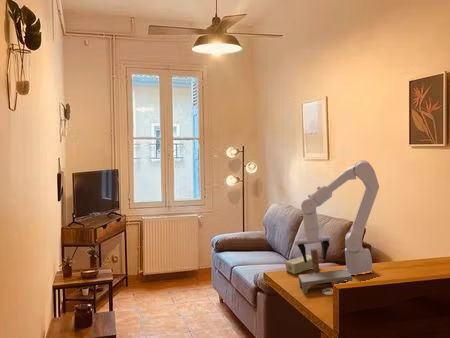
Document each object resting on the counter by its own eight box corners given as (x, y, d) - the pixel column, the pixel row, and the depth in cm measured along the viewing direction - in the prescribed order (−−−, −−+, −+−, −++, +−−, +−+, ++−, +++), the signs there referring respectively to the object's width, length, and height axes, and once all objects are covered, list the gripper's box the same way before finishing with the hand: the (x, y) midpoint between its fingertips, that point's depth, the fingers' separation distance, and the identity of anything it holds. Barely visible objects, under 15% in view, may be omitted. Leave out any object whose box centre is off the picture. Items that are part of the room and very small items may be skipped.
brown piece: (322, 271, 176) (320, 247, 175) (330, 281, 164) (328, 256, 163) (308, 273, 176) (305, 249, 175) (315, 283, 164) (312, 258, 163)
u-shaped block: (346, 279, 164) (345, 269, 163) (353, 287, 156) (352, 276, 155) (299, 285, 164) (298, 275, 163) (303, 293, 156) (302, 282, 155)
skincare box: (294, 274, 177) (318, 267, 182) (293, 264, 176) (317, 257, 182) (285, 270, 182) (309, 264, 188) (284, 260, 182) (308, 254, 187)
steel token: (334, 289, 156) (334, 287, 156) (338, 295, 151) (338, 292, 151) (321, 291, 157) (320, 288, 156) (324, 296, 152) (323, 294, 151)
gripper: (326, 223, 178) (330, 255, 179) (291, 227, 178) (295, 259, 179) (331, 227, 171) (334, 260, 172) (294, 231, 171) (298, 265, 172)
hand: (314, 260), depth 175 cm, fingers open, 7 cm apart
